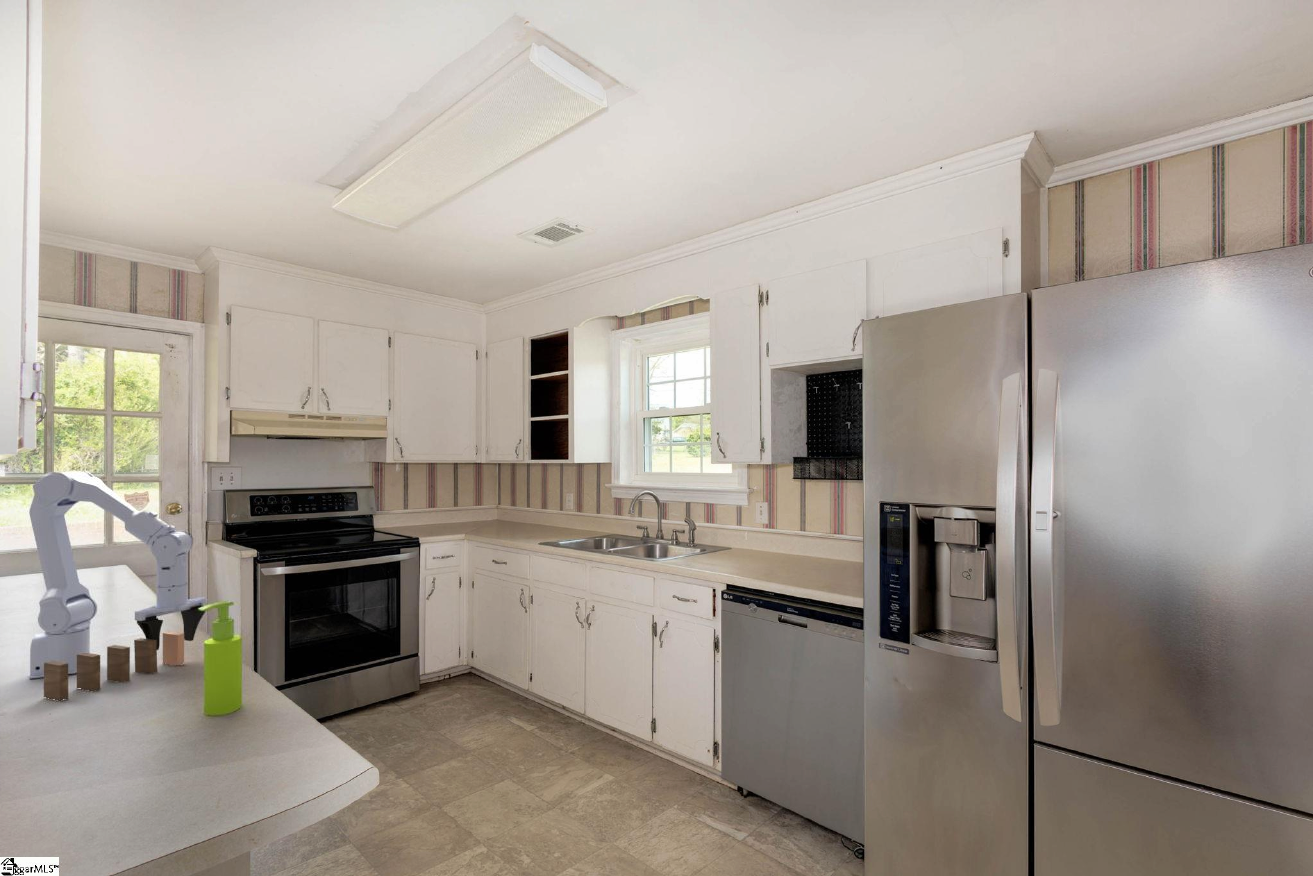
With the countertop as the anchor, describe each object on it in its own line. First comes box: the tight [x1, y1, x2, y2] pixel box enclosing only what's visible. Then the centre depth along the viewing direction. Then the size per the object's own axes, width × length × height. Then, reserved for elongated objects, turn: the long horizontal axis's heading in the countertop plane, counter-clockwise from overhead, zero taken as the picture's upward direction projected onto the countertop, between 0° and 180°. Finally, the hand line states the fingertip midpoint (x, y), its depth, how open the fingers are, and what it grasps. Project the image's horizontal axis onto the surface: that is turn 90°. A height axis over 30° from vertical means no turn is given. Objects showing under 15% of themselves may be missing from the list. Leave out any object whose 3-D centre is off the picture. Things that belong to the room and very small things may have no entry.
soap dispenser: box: [198, 600, 243, 717], centre depth 123 cm, size 6×7×20 cm
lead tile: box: [162, 631, 185, 666], centre depth 150 cm, size 1×5×7 cm, turn 70°
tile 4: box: [76, 653, 101, 692], centre depth 135 cm, size 1×5×7 cm, turn 69°
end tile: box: [43, 661, 69, 702], centre depth 130 cm, size 1×5×7 cm, turn 69°
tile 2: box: [133, 637, 158, 675], centre depth 145 cm, size 1×5×7 cm, turn 70°
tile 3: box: [106, 644, 131, 684], centre depth 140 cm, size 1×5×7 cm, turn 70°
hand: (171, 645), depth 150 cm, fingers open, 7 cm apart
